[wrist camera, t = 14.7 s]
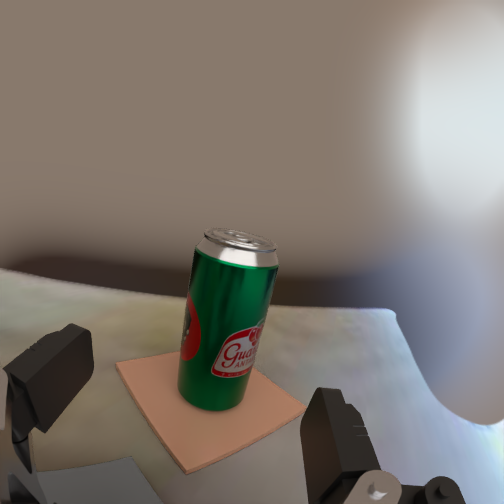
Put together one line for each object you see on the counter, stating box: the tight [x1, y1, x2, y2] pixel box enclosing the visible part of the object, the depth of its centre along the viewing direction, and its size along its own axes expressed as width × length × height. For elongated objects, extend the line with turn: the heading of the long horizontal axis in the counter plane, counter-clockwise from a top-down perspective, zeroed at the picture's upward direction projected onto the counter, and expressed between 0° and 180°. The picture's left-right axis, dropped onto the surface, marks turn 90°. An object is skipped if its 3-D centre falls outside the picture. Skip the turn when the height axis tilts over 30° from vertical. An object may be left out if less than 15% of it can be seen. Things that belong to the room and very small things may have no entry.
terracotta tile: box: [116, 351, 307, 475], centre depth 19 cm, size 11×11×1 cm
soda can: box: [177, 228, 279, 412], centre depth 17 cm, size 5×5×12 cm
